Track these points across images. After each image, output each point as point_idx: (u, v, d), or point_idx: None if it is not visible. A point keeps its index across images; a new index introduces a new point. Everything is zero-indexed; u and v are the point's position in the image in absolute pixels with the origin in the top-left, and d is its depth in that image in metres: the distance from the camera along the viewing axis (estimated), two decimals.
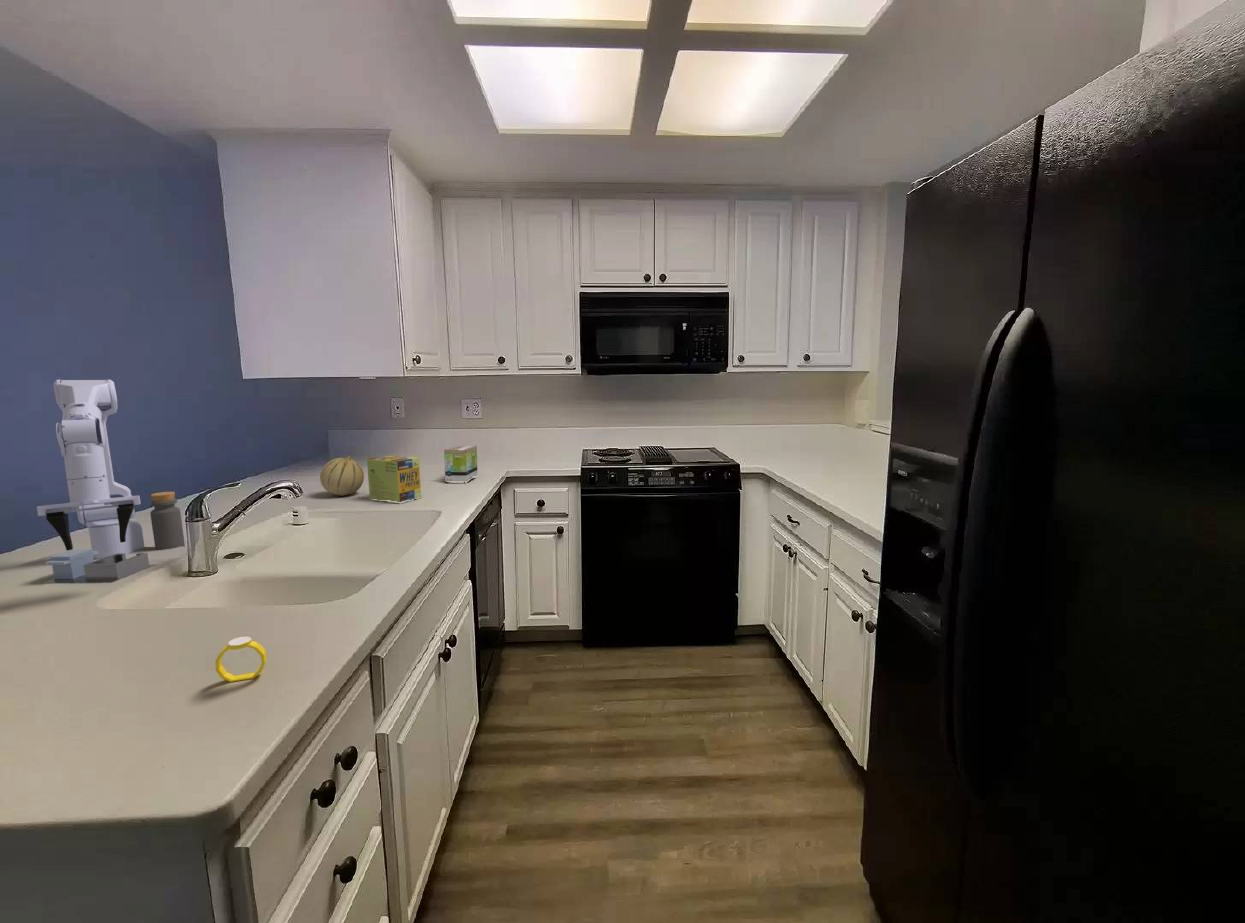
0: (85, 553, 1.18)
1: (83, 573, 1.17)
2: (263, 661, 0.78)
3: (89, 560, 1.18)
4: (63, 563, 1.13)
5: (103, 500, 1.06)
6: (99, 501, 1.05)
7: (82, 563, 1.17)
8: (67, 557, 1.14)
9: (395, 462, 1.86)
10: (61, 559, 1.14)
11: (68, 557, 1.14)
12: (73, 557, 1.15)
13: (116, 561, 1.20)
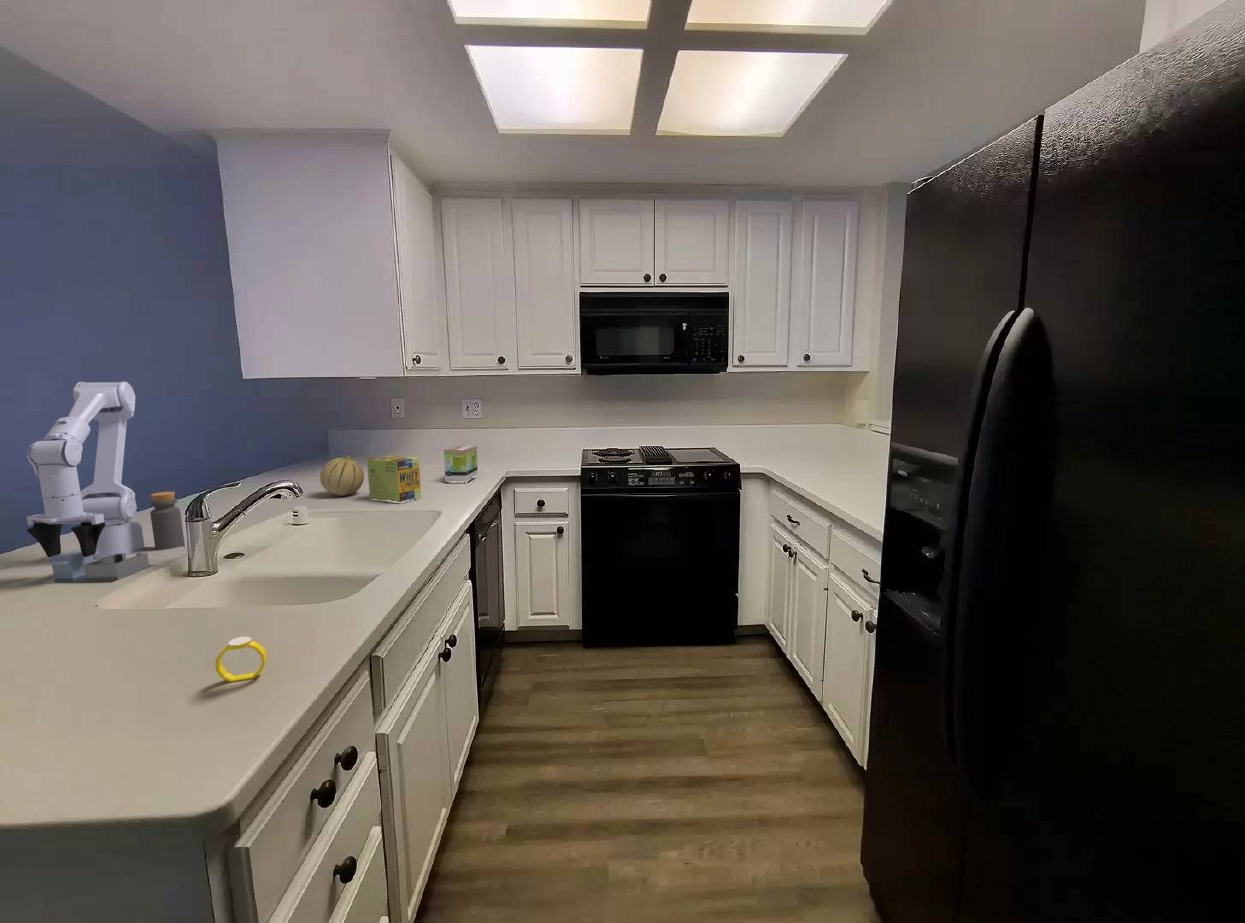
0: None
1: (83, 573, 1.17)
2: (263, 661, 0.78)
3: (89, 560, 1.18)
4: (63, 563, 1.13)
5: (62, 519, 1.13)
6: (59, 520, 1.13)
7: (82, 563, 1.17)
8: (67, 557, 1.14)
9: (395, 462, 1.86)
10: (61, 559, 1.14)
11: (68, 557, 1.14)
12: (73, 557, 1.15)
13: (116, 561, 1.20)
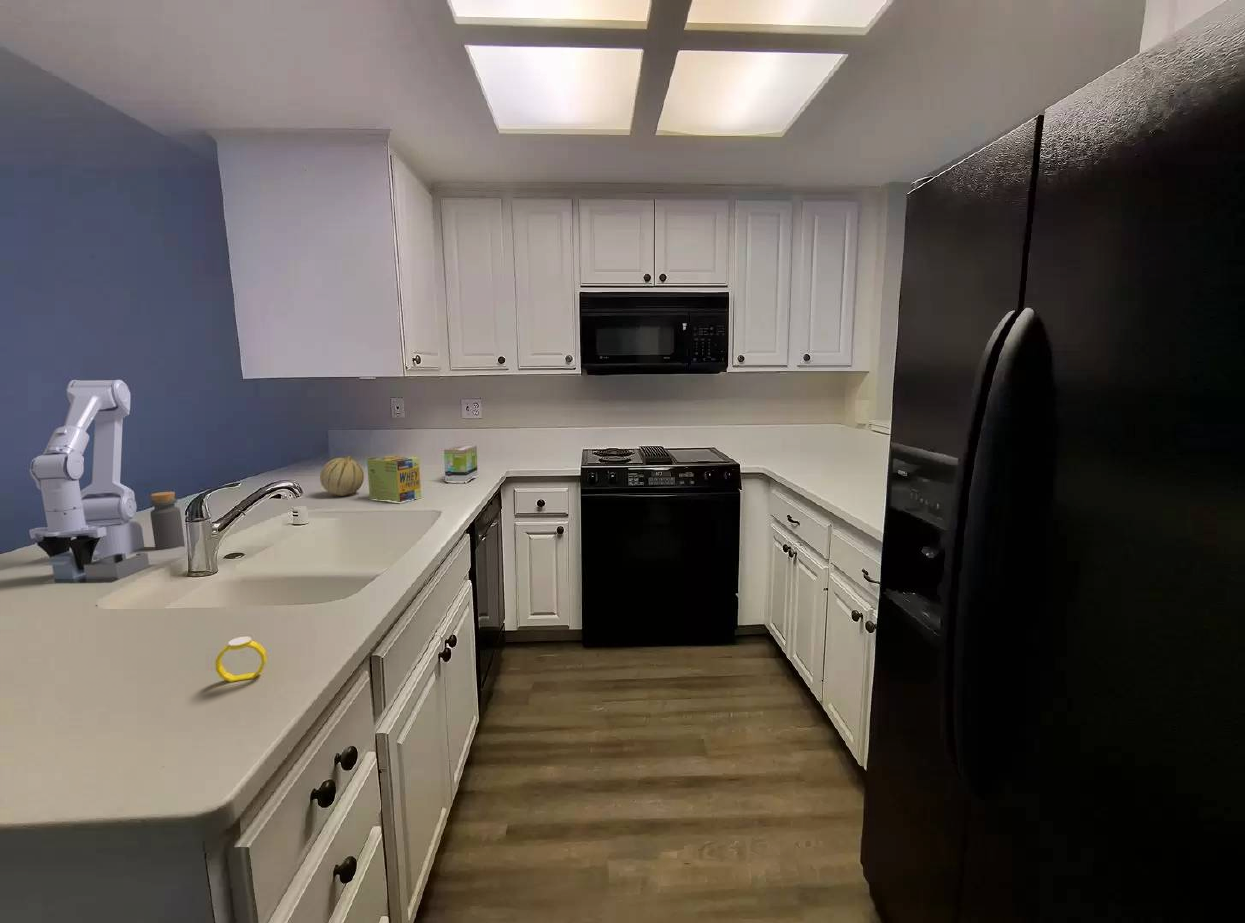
0: None
1: (83, 573, 1.17)
2: (263, 661, 0.78)
3: None
4: (63, 563, 1.13)
5: (65, 532, 1.13)
6: (61, 533, 1.13)
7: None
8: (67, 557, 1.14)
9: (395, 462, 1.86)
10: (61, 559, 1.14)
11: (68, 557, 1.14)
12: (73, 557, 1.15)
13: (116, 561, 1.20)
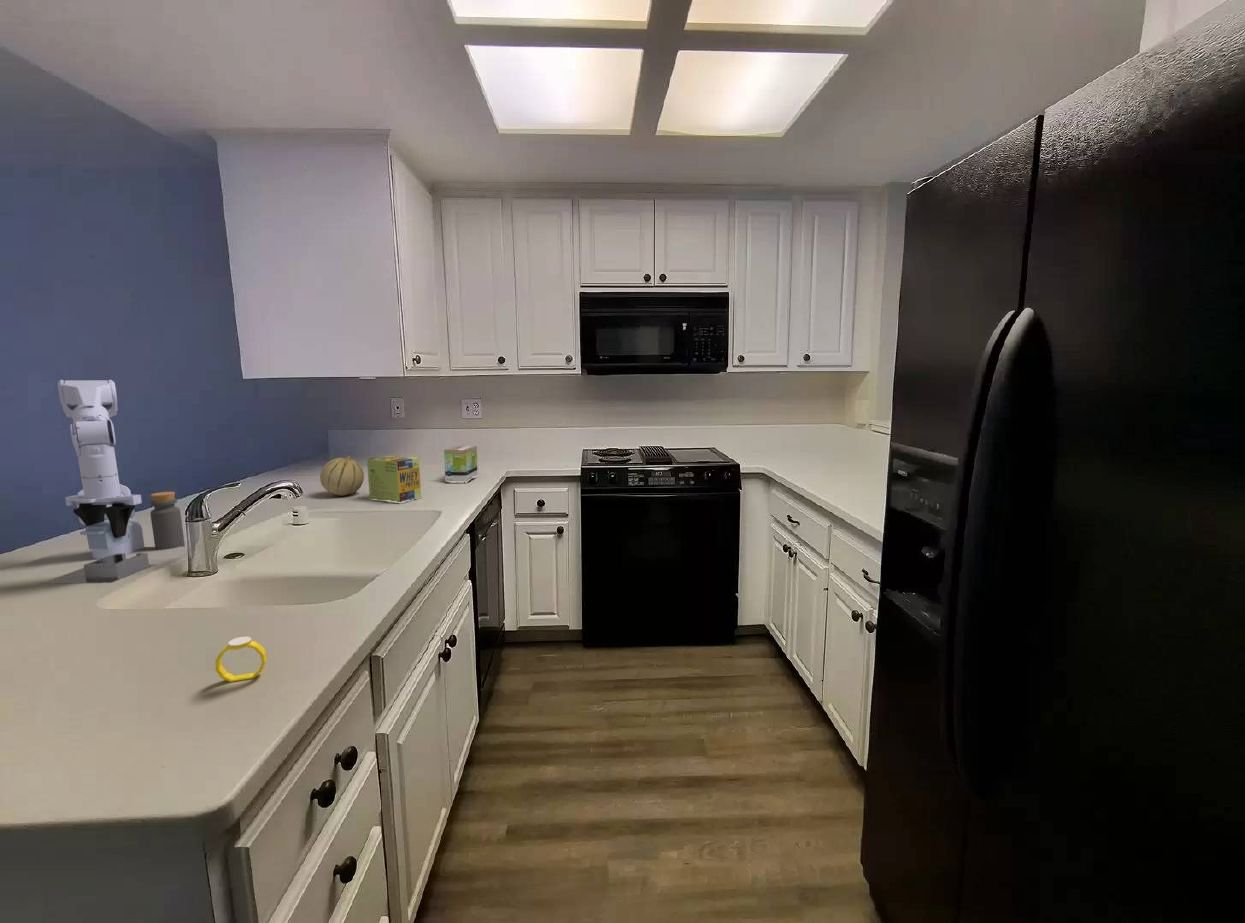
0: None
1: (117, 544, 1.16)
2: (263, 661, 0.78)
3: None
4: (98, 533, 1.12)
5: (101, 499, 1.13)
6: (97, 500, 1.13)
7: None
8: (102, 527, 1.13)
9: (395, 462, 1.86)
10: (96, 529, 1.13)
11: (103, 527, 1.13)
12: (107, 527, 1.14)
13: (116, 561, 1.20)
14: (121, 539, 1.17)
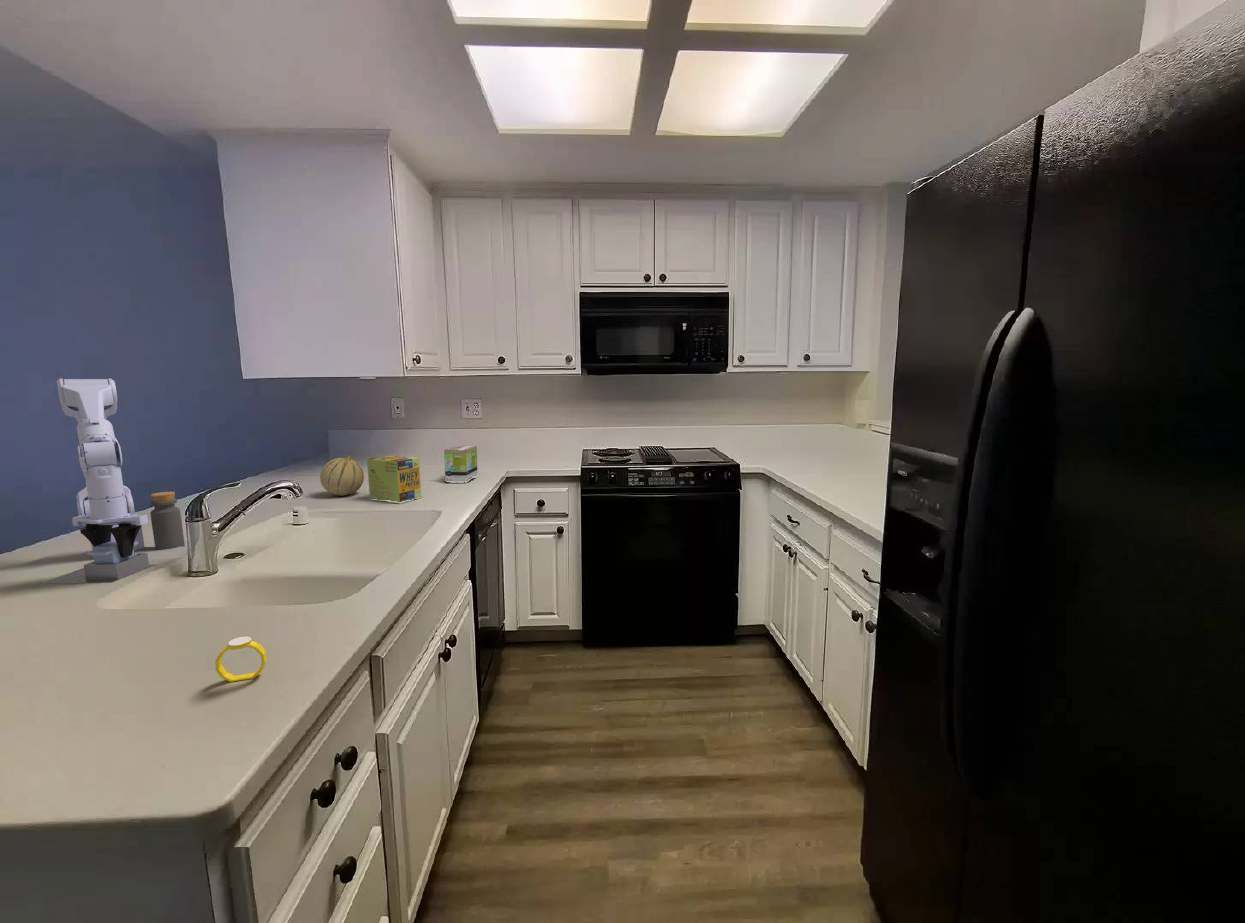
0: None
1: None
2: (263, 661, 0.78)
3: None
4: (105, 553, 1.13)
5: (108, 520, 1.14)
6: (105, 521, 1.13)
7: None
8: (109, 547, 1.14)
9: (395, 462, 1.86)
10: (103, 549, 1.14)
11: (110, 547, 1.14)
12: (114, 548, 1.15)
13: None
14: None
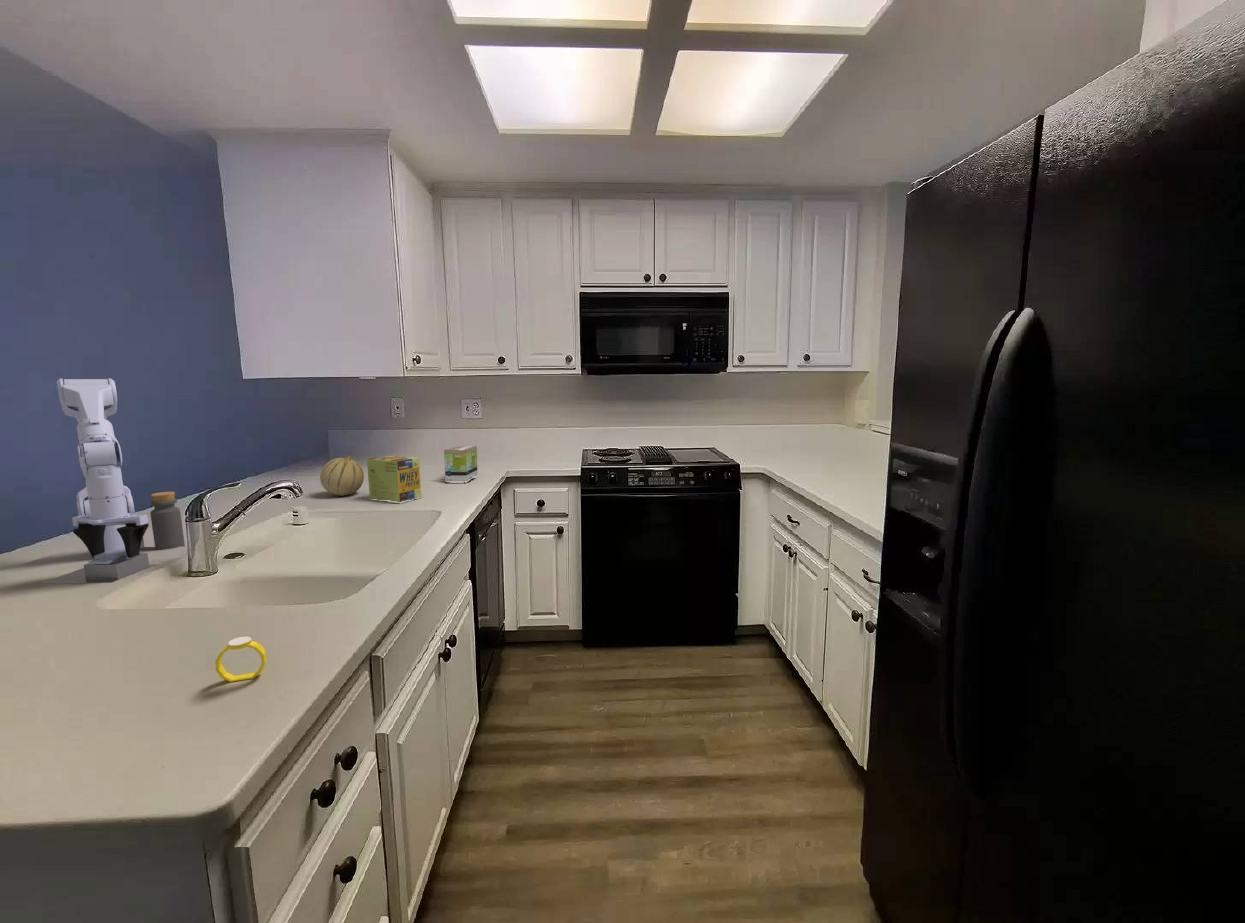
0: None
1: None
2: (263, 661, 0.78)
3: None
4: (106, 562, 1.13)
5: (108, 520, 1.14)
6: (104, 521, 1.13)
7: None
8: (110, 556, 1.15)
9: (395, 462, 1.86)
10: (104, 558, 1.14)
11: (111, 556, 1.15)
12: (115, 556, 1.15)
13: None
14: None
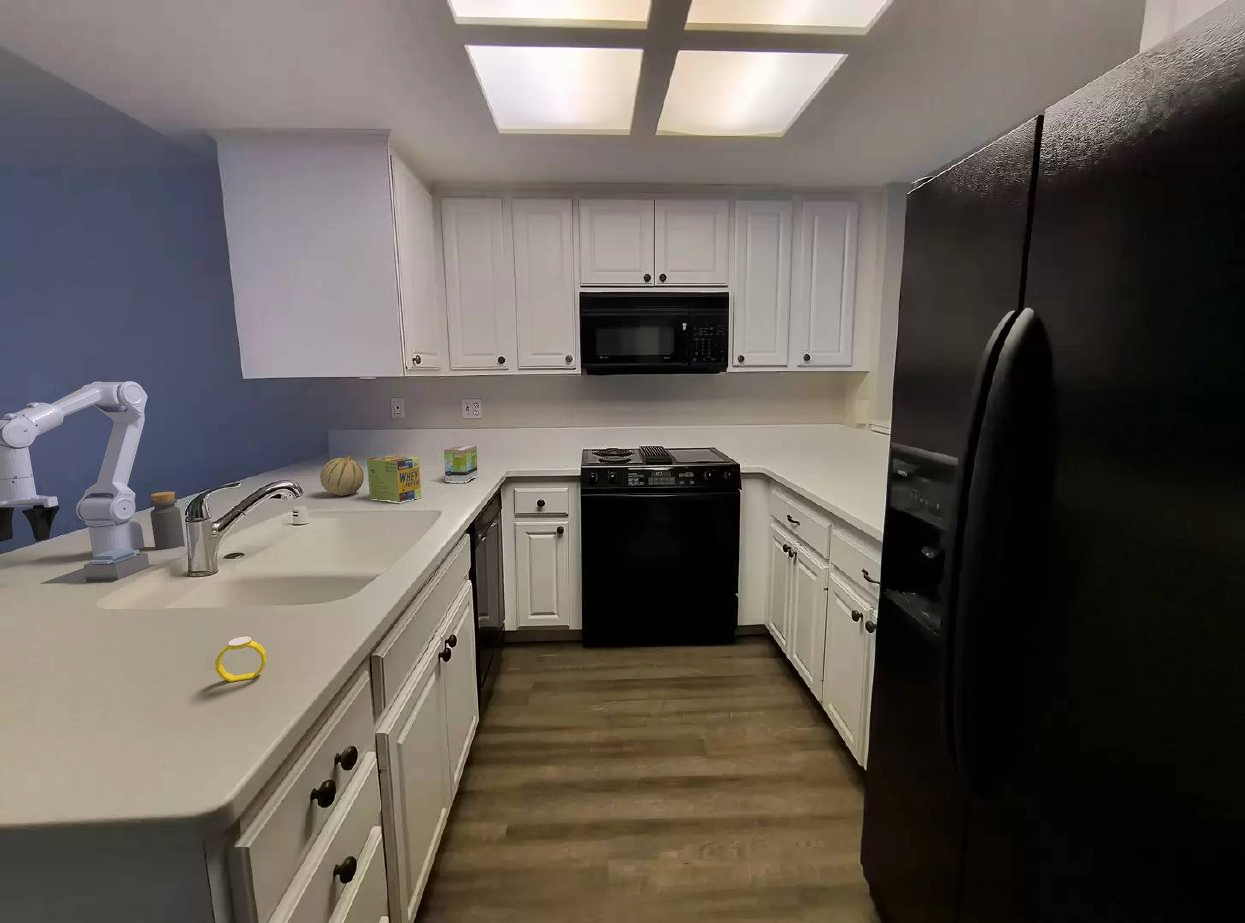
0: (127, 552, 1.18)
1: None
2: (263, 661, 0.78)
3: None
4: (106, 562, 1.13)
5: (13, 501, 1.09)
6: (9, 502, 1.09)
7: None
8: (110, 556, 1.15)
9: (395, 462, 1.86)
10: (104, 558, 1.14)
11: (111, 556, 1.15)
12: (115, 556, 1.15)
13: None
14: None
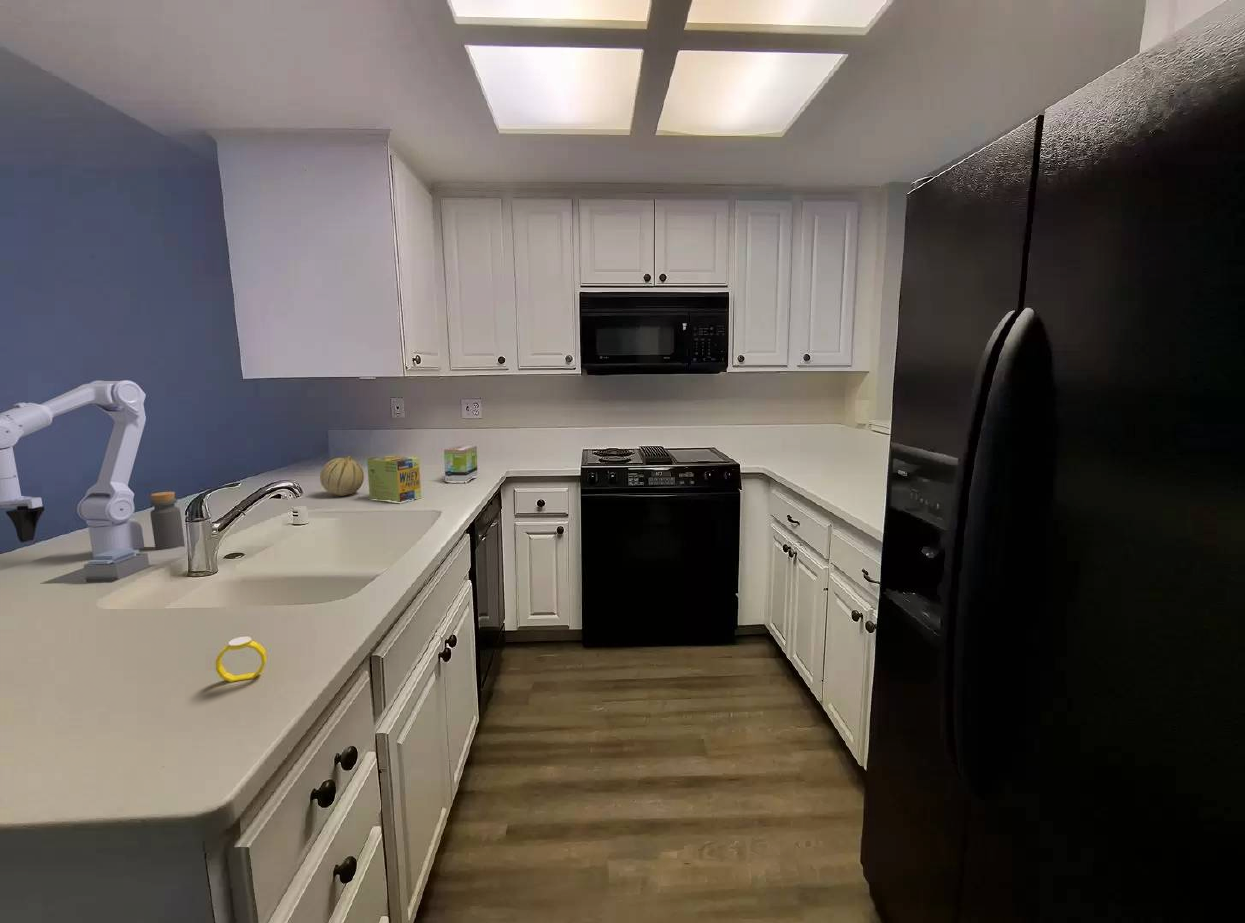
0: (127, 552, 1.18)
1: None
2: (263, 661, 0.78)
3: None
4: (106, 562, 1.13)
5: None
6: None
7: None
8: (110, 556, 1.15)
9: (395, 462, 1.86)
10: (104, 558, 1.14)
11: (111, 556, 1.15)
12: (115, 556, 1.15)
13: None
14: None
